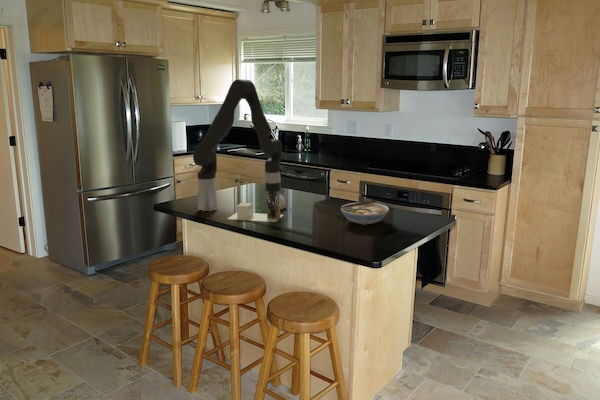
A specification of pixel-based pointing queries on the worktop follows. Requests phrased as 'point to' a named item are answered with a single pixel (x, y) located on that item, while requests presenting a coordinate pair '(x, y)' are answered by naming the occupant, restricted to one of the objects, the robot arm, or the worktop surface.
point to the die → (281, 202)
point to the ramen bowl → (364, 212)
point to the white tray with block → (261, 216)
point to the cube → (244, 210)
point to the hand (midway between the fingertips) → (273, 215)
